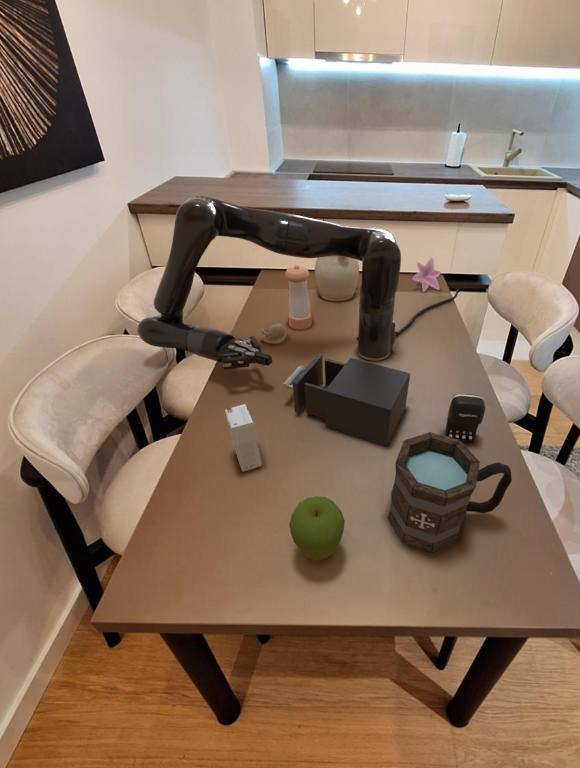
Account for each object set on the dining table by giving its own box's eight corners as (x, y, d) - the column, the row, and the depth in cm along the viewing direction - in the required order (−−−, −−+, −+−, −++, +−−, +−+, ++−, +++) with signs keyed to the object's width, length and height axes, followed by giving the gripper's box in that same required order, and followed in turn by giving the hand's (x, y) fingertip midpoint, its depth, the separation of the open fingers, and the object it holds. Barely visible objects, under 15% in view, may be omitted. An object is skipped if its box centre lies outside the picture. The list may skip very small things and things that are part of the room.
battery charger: (443, 443, 87) (453, 403, 80) (442, 430, 90) (451, 391, 83) (476, 446, 86) (488, 406, 79) (474, 433, 89) (486, 394, 82)
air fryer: (325, 427, 90) (324, 390, 83) (349, 392, 100) (350, 357, 93) (386, 447, 86) (390, 410, 79) (405, 408, 96) (410, 373, 89)
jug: (358, 304, 138) (361, 230, 123) (313, 303, 138) (310, 229, 123) (358, 285, 150) (361, 216, 135) (317, 284, 150) (315, 215, 135)
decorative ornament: (290, 339, 119) (288, 323, 116) (265, 348, 115) (263, 332, 112) (282, 333, 122) (281, 317, 118) (258, 342, 117) (256, 326, 114)
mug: (391, 553, 67) (400, 498, 57) (383, 487, 77) (390, 432, 68) (507, 551, 67) (534, 497, 58) (483, 486, 78) (503, 431, 69)
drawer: (278, 407, 94) (275, 377, 88) (304, 378, 103) (302, 349, 97) (348, 429, 88) (349, 399, 83) (368, 396, 97) (370, 367, 92)
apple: (349, 567, 65) (351, 527, 57) (298, 581, 63) (293, 542, 55) (336, 521, 71) (336, 480, 64) (289, 533, 69) (283, 492, 62)
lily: (405, 293, 149) (416, 276, 141) (405, 269, 154) (417, 252, 146) (433, 302, 152) (446, 285, 143) (433, 279, 157) (446, 262, 149)
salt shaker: (310, 330, 124) (307, 270, 112) (287, 329, 124) (282, 269, 112) (312, 318, 129) (310, 261, 117) (290, 318, 129) (285, 260, 117)
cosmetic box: (263, 465, 81) (255, 422, 73) (241, 473, 79) (231, 429, 72) (255, 445, 85) (247, 402, 78) (233, 452, 83) (223, 408, 76)
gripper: (189, 343, 93) (252, 362, 87) (224, 319, 102) (283, 334, 97) (196, 370, 97) (256, 389, 92) (229, 343, 107) (285, 359, 102)
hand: (270, 360), depth 95 cm, fingers closed
